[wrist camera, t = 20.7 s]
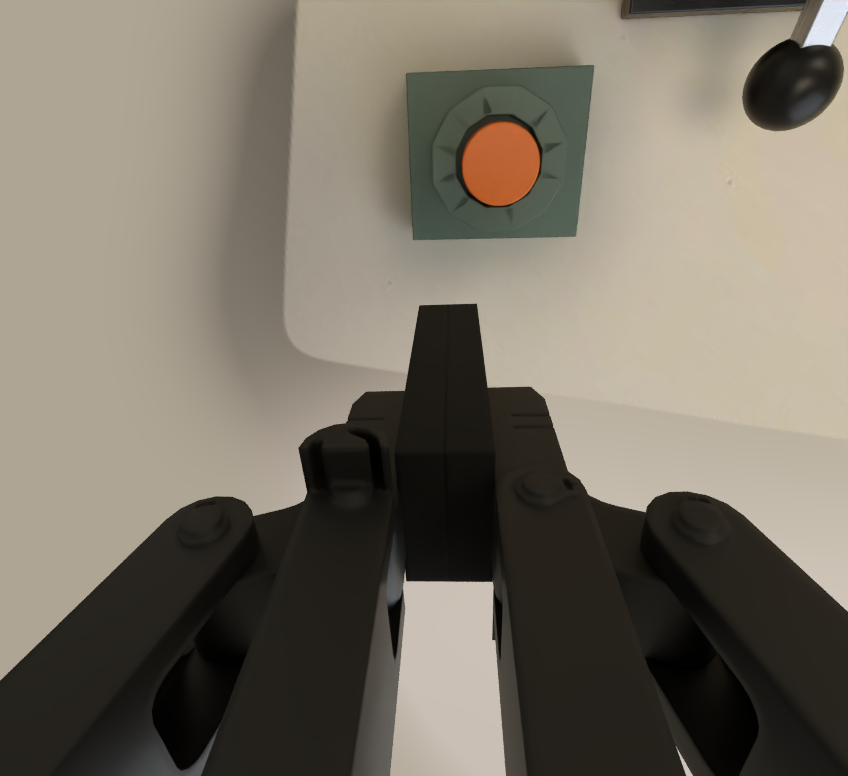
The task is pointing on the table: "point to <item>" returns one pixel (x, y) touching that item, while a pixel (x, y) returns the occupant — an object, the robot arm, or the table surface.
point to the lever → (798, 71)
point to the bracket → (704, 7)
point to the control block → (477, 106)
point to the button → (500, 163)
